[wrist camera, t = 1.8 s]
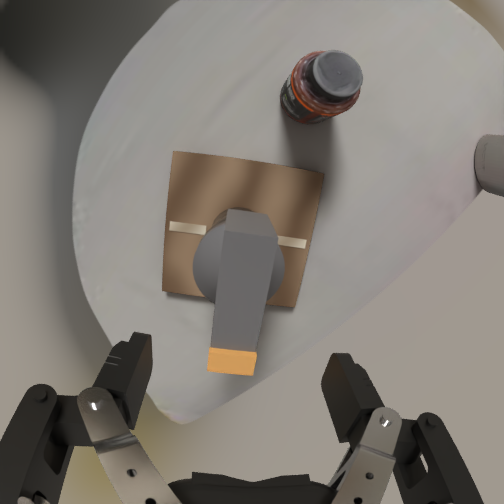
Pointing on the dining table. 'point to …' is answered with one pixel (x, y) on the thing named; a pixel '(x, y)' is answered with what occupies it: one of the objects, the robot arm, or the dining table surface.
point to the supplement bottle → (321, 86)
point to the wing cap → (238, 285)
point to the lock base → (238, 190)
